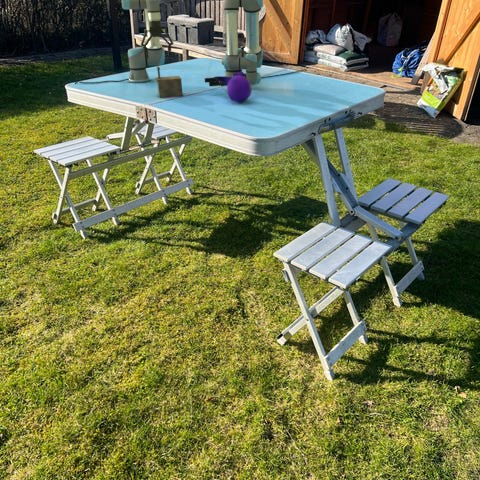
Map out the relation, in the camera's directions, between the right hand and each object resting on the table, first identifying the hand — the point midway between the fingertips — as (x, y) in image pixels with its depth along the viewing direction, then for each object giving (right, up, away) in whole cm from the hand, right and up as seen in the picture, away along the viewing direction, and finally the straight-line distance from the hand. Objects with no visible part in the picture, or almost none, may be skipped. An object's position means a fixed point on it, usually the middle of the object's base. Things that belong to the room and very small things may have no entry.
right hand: (206, 82), depth 297 cm
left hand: (-30, +11, -13) cm, 34 cm away
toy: (+19, -17, -16) cm, 30 cm away
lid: (-25, -1, -7) cm, 26 cm away
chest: (-24, -9, -1) cm, 26 cm away
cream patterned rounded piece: (+16, +35, +72) cm, 81 cm away
